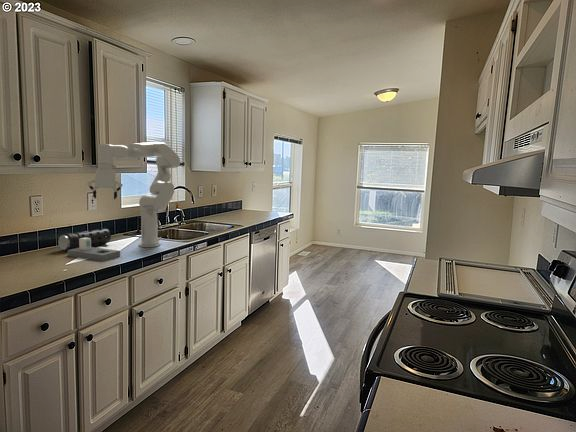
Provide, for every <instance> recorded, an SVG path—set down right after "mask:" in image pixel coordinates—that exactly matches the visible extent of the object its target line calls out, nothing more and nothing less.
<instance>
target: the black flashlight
mask: <svg viewBox="0 0 576 432" xmlns="http://www.w3.org/2000/svg"><path fill="white" fill-rule="evenodd" d="M111 235H112V234H111V231H110V230H109V229H108V228H100V229H93V230H86V231H80V232H79V231H78V232H68V233H64V234H62V235H60V236H59V237H58V240H57V243H58V247H59V248H60V250H63V251H67V250H71V249H75V248H79V239H80V238H85V237H86V238H91V247H95V246H96V247H99V246H104V245H107V244H108V243H109V242H110V241H111V238H112V236H111Z"/></svg>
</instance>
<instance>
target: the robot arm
mask: <svg viewBox="0 0 576 432" xmlns="http://www.w3.org/2000/svg"><path fill="white" fill-rule="evenodd" d="M151 157H155V164H156V167H157V174H156V176H155V177H154V180H153V181H152V183H151V184H150V186H149V193H150V194H145V195H142V196H141V197H140V199H139V202H138V203H139V204H138V205H139V210H140V221H141V222H140V229H141V230H140V231H141V232H140V233H141V239H140V241H141V242H139V243H138V247H141V248H155V247H160V246H161V243H160V241H162V240H163V239H162V237H161V236H160V237H158V214H157V212H163V211H165V209H167V207H168V205H169V203H170V202H171V200H172V198H173V196H174V193H175V185H174V184H173V183H172V182H170V181H171V179H172V175H171V171H170V169H176V168H178V167H180V165H181V159H180V156H179V155H178V154H177V153H176V152H175V151H174V149H172V148H171V147H170V146H169V145H168V144H167V143H165V142H140V143H139V142H137V143H135V142H134V143H127V144H109V143H108V144H107V143H100V144H98V148H97V169H96V171H95V176H94V177H95V178H94V179H93V180H91V181H88V182H87V185H88V187H89V189H90V190H91V191H92V197H93V198H94V199H95V200H96V199H97V190H98V189H112V190H113V191H114V192H113V200H116V199H117V198H118V191H120V190H121V189H122V187H123V183H121V182H119V181H117V179H116V171H115V170H114V169H117V166H116V165H115V164H114V160H125V159H127V158H128V159H129V158H131V159H142V158H151ZM92 184H94V187H93V185H92ZM116 185H118V187H117V188H116Z"/></svg>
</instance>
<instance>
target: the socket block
mask: <svg viewBox="0 0 576 432" xmlns="http://www.w3.org/2000/svg"><path fill="white" fill-rule="evenodd" d="M66 251H67V256H68V257H74V258H81V259H86V260H93V261H99V262H105V261H108V260H112V259H116V258H119V257H121V251H120V250H116V249H108V248H102V247H97V246H96V247H95V246H91V250H87V251H83V250H79V248H75V249H71V250H66Z"/></svg>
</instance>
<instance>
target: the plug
mask: <svg viewBox="0 0 576 432" xmlns="http://www.w3.org/2000/svg"><path fill="white" fill-rule="evenodd" d="M91 247H92V246H91V238H86V237H85V238H80V239H79V250H83V251H87V250H91Z"/></svg>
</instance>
